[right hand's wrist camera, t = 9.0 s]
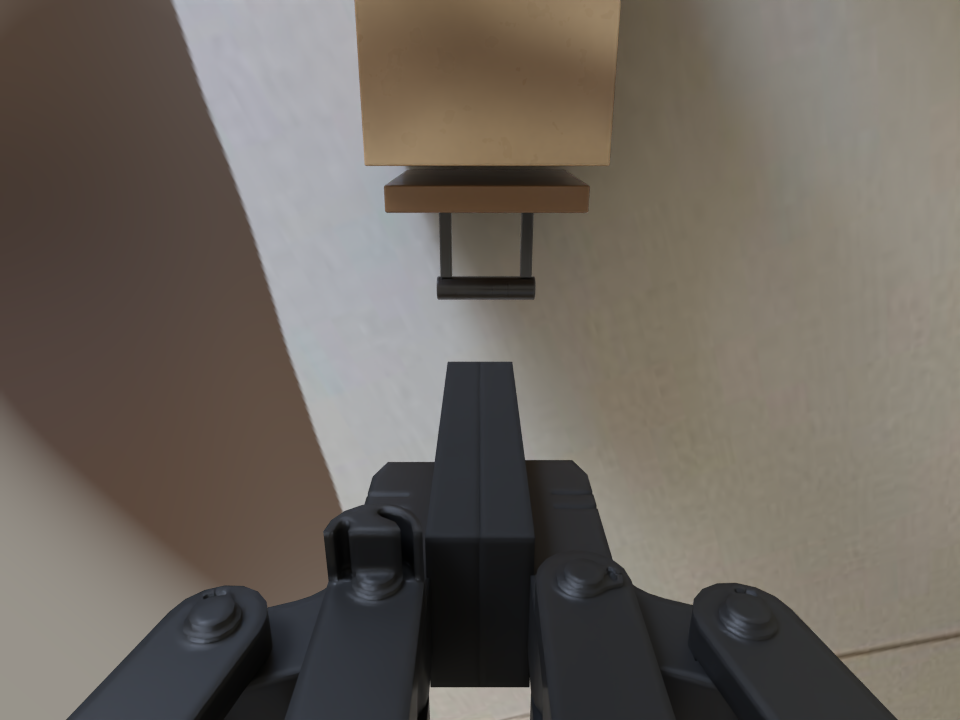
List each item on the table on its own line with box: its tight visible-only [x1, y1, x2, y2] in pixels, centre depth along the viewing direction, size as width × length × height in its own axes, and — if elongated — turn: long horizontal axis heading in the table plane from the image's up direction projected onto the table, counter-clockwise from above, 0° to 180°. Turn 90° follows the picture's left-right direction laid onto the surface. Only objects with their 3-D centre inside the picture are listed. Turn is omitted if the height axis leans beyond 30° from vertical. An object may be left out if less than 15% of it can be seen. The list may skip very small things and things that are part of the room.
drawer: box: [384, 170, 590, 300], centre depth 30 cm, size 23×9×9 cm, turn 0°
